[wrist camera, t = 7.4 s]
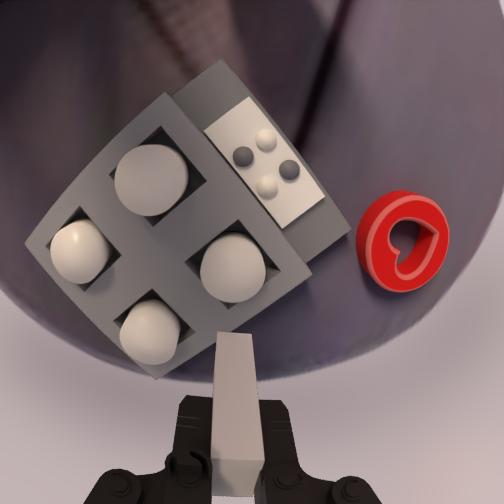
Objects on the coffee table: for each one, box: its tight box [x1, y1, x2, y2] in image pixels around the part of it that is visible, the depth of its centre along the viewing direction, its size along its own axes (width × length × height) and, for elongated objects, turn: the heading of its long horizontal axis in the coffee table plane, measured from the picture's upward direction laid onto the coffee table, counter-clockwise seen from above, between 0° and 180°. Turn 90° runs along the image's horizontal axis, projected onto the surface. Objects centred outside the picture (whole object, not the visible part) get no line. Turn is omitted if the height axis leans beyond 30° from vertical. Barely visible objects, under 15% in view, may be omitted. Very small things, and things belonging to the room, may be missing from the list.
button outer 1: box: [119, 299, 181, 365], centre depth 25 cm, size 5×5×3 cm
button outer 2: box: [200, 231, 266, 303], centre depth 25 cm, size 5×5×3 cm
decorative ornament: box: [356, 191, 449, 293], centre depth 28 cm, size 10×10×3 cm
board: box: [25, 58, 351, 380], centre depth 26 cm, size 18×23×4 cm
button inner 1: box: [50, 218, 113, 284], centre depth 23 cm, size 5×5×3 cm
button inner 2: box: [115, 144, 189, 216], centre depth 21 cm, size 5×5×3 cm
